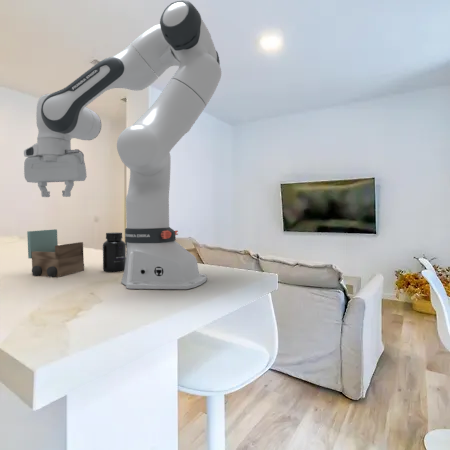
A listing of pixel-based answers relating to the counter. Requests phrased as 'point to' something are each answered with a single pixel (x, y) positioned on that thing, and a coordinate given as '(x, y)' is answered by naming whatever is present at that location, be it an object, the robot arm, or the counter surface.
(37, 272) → the cart
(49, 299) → the counter surface
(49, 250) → the panel
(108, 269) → the supplement bottle
